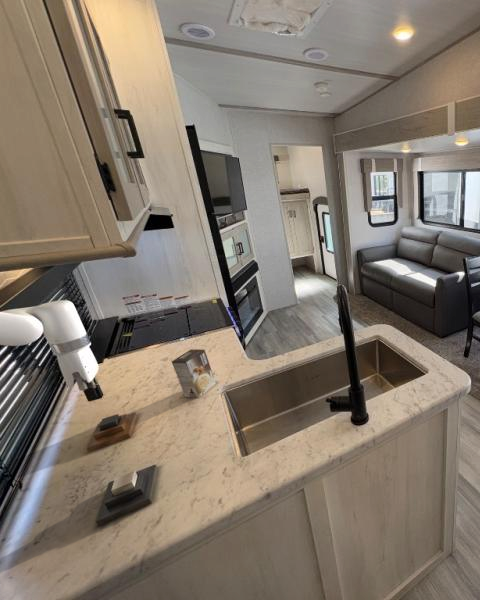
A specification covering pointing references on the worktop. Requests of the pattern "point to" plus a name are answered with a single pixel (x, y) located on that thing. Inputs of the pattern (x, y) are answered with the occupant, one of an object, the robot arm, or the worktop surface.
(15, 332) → the robot arm
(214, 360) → the worktop surface
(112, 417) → the black key
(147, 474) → the black stepped pedestal
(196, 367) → the coffee box
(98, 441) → the brown stepped pedestal
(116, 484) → the white key
